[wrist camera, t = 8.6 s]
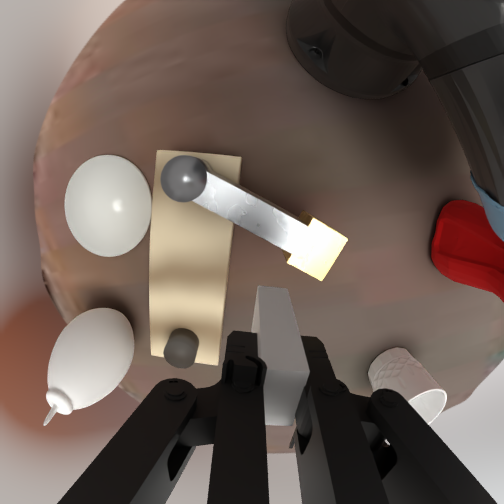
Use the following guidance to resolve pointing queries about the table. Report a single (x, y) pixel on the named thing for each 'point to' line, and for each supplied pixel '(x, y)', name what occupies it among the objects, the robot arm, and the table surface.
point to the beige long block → (188, 270)
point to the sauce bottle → (88, 360)
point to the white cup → (408, 382)
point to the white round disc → (108, 205)
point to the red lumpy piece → (469, 247)
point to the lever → (254, 214)
